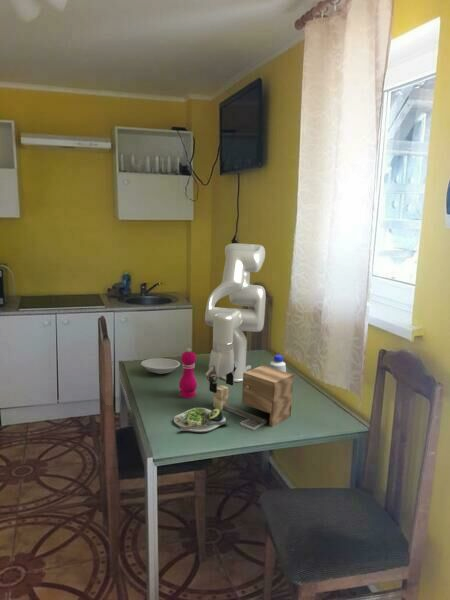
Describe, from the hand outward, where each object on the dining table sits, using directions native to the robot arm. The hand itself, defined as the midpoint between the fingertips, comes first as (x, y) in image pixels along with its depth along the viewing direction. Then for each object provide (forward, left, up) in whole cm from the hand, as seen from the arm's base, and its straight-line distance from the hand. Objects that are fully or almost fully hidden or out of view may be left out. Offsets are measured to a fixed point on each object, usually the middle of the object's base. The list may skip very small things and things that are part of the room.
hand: (221, 388), depth 192 cm
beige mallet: (+1, +10, -7) cm, 13 cm away
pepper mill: (+1, -16, -8) cm, 18 cm away
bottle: (-18, +14, -8) cm, 23 cm away
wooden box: (-6, +18, -7) cm, 20 cm away
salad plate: (+15, +4, -8) cm, 18 cm away
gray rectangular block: (+4, +18, -8) cm, 21 cm away
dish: (-8, -43, -8) cm, 44 cm away
